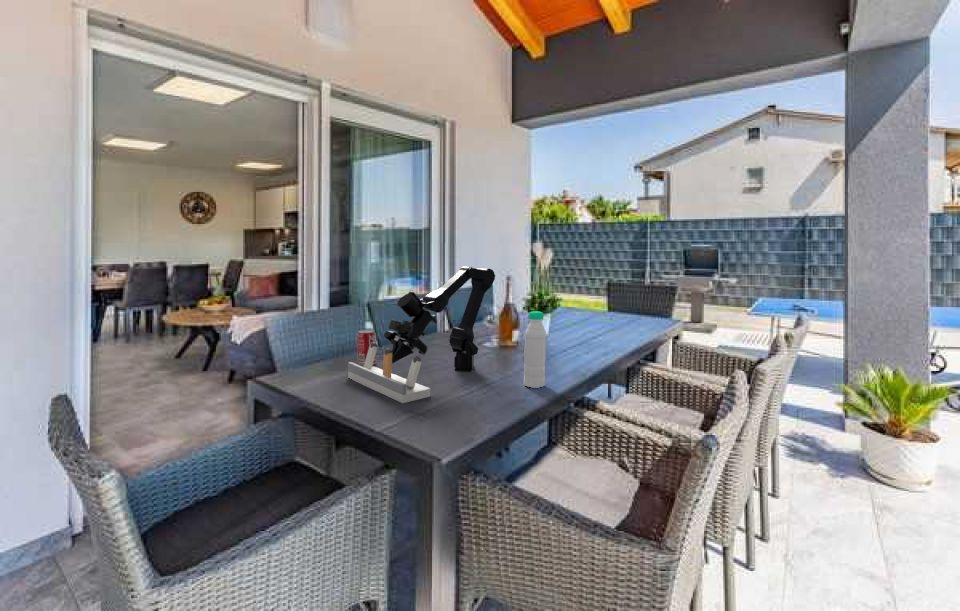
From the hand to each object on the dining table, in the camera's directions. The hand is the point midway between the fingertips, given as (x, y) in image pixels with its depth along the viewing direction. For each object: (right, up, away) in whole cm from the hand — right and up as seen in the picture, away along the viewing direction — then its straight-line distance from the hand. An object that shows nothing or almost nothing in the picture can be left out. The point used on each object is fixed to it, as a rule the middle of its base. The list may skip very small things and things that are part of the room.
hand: (390, 362), depth 160 cm
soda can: (-14, -4, +28) cm, 31 cm away
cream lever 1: (-10, -3, +9) cm, 14 cm away
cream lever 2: (+8, -6, -10) cm, 14 cm away
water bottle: (+47, -8, +3) cm, 48 cm away
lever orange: (-1, -5, 0) cm, 5 cm away
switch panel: (-1, -8, 0) cm, 8 cm away
